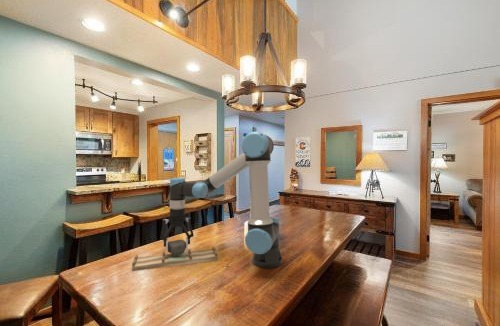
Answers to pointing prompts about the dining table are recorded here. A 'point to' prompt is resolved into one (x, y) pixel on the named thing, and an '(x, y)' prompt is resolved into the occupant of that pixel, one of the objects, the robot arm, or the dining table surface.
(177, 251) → the stone
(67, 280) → the dining table surface
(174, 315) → the dining table surface
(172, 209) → the robot arm
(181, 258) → the ledge
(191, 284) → the dining table surface
